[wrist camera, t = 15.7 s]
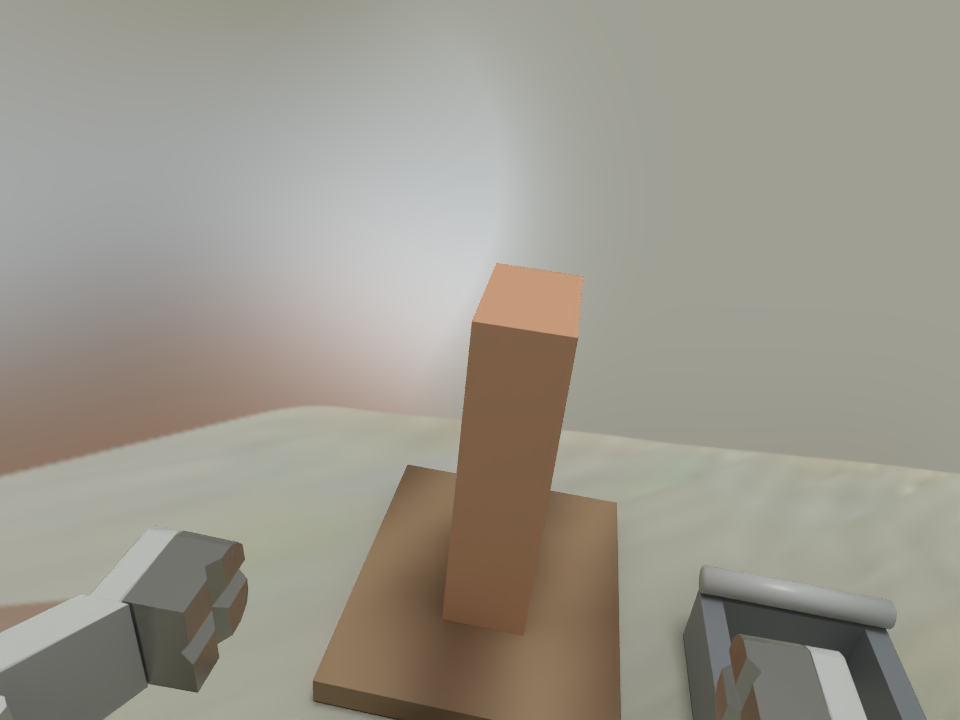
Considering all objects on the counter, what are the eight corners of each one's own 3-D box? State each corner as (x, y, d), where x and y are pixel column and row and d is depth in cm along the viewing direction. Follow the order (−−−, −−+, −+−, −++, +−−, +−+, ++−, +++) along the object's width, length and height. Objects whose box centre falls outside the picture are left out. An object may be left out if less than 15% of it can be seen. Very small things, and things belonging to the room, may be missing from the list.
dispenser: (855, 659, 26) (889, 594, 25) (955, 923, 19) (1014, 855, 17) (682, 624, 27) (704, 559, 25) (711, 866, 19) (745, 795, 18)
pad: (612, 519, 32) (616, 503, 32) (615, 767, 22) (621, 747, 21) (406, 481, 33) (407, 464, 33) (313, 700, 23) (312, 680, 22)
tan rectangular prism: (535, 540, 29) (582, 276, 23) (523, 635, 25) (577, 338, 19) (466, 527, 29) (496, 263, 24) (441, 619, 25) (472, 320, 19)
